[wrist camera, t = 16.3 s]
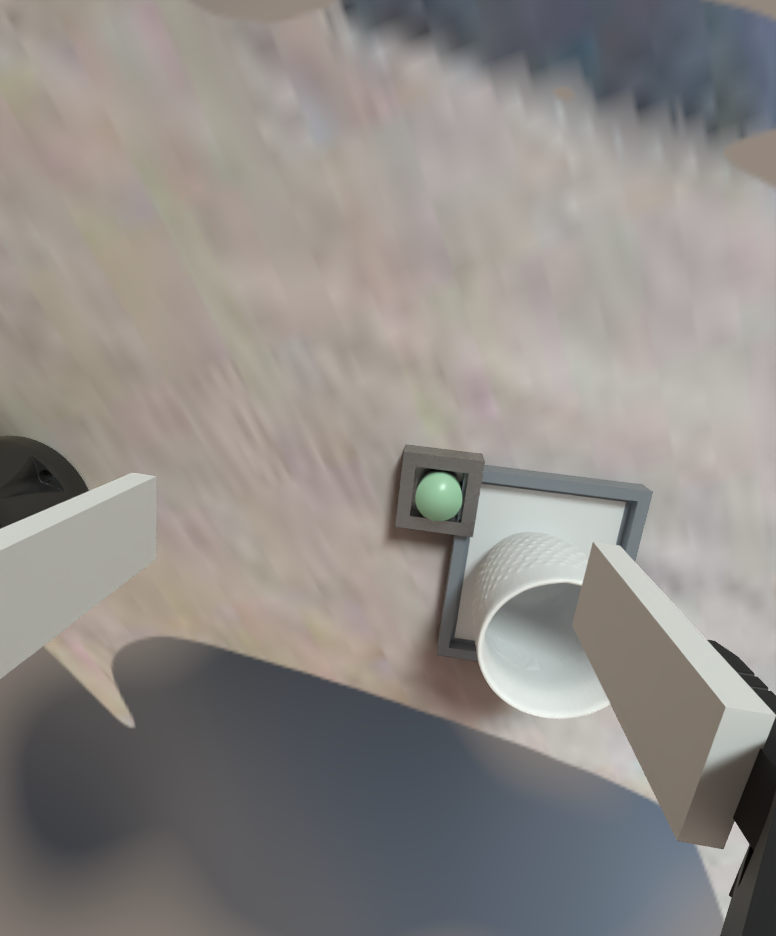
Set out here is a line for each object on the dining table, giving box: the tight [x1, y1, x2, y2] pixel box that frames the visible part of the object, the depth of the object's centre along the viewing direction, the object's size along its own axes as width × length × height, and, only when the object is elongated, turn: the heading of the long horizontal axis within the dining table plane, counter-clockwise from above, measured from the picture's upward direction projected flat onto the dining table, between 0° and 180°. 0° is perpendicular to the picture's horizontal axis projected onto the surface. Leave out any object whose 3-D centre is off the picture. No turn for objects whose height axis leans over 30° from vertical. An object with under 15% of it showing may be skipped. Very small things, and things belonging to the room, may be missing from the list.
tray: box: [437, 465, 653, 661], centre depth 46 cm, size 16×19×2 cm
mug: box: [472, 531, 610, 719], centre depth 39 cm, size 15×11×13 cm
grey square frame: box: [395, 445, 485, 537], centre depth 44 cm, size 7×7×3 cm
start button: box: [415, 470, 462, 521], centre depth 43 cm, size 4×4×2 cm
